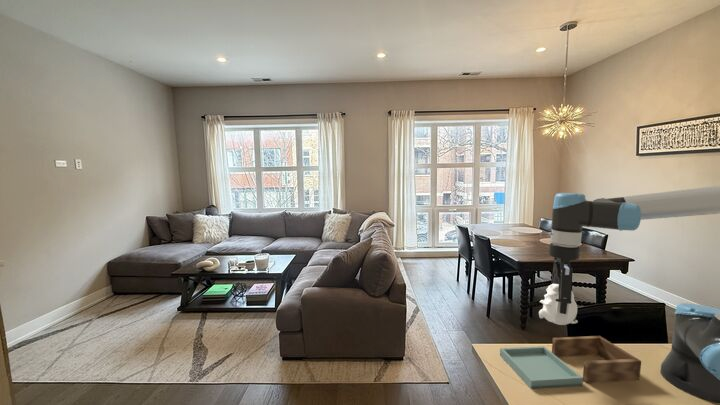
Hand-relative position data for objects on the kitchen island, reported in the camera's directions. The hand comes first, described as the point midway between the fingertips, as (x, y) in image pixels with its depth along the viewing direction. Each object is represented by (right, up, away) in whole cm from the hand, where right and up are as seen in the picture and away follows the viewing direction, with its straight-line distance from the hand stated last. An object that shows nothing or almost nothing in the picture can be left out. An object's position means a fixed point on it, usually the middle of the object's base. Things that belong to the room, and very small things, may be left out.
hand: (558, 315), depth 90 cm
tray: (-6, -17, +1) cm, 18 cm away
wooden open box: (+12, -17, +2) cm, 21 cm away
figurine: (0, -2, 0) cm, 2 cm away
